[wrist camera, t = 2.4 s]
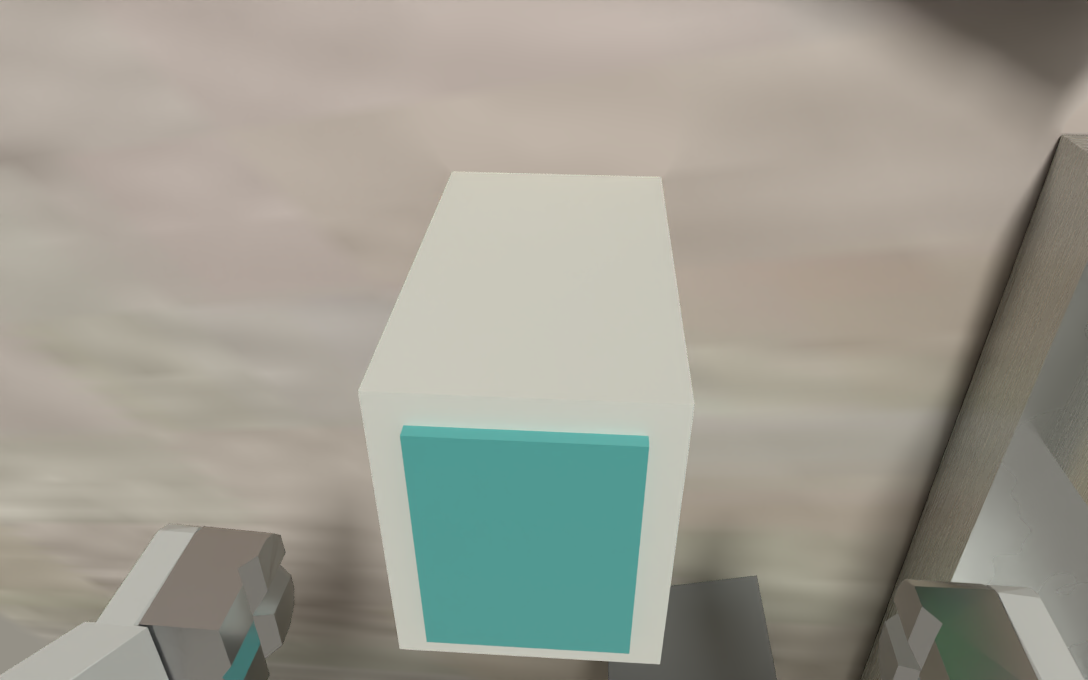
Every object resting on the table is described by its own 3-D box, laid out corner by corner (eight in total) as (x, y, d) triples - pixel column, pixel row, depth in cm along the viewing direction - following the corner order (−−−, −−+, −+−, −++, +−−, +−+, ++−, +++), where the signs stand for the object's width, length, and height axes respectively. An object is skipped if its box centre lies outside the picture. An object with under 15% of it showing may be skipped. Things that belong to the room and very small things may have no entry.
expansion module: (466, 379, 18) (397, 660, 12) (452, 171, 15) (353, 401, 9) (642, 387, 18) (660, 676, 12) (660, 176, 15) (696, 416, 9)
